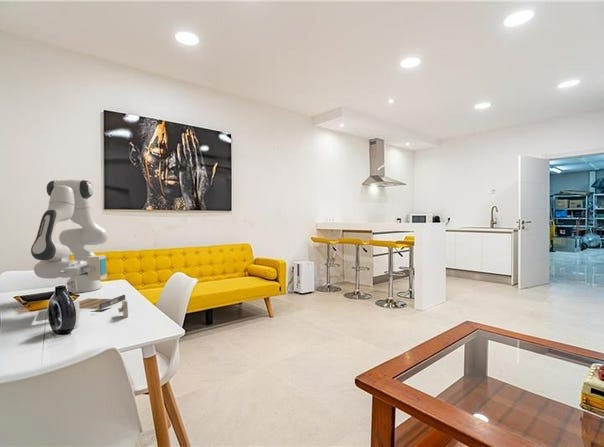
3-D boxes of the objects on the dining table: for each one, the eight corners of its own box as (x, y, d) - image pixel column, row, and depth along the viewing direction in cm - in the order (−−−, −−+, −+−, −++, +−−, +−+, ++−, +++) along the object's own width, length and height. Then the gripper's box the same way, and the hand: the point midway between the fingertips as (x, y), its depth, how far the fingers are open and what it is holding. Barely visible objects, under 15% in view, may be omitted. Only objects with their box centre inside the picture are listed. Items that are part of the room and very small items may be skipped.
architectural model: (119, 319, 142) (118, 303, 142) (118, 315, 148) (117, 300, 148) (128, 318, 144) (127, 302, 144) (126, 314, 150) (125, 298, 150)
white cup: (85, 324, 136) (83, 301, 136) (70, 331, 128) (68, 307, 128) (68, 324, 137) (67, 301, 137) (52, 331, 129) (50, 307, 129)
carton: (88, 280, 159) (86, 257, 158) (95, 278, 165) (93, 255, 164) (101, 280, 159) (99, 256, 159) (107, 277, 165) (106, 255, 165)
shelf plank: (61, 310, 157) (60, 302, 157) (88, 301, 173) (88, 293, 172) (102, 312, 153) (101, 303, 153) (125, 302, 168) (125, 294, 168)
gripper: (55, 266, 150) (85, 265, 151) (82, 259, 171) (109, 258, 172) (56, 279, 151) (86, 278, 151) (83, 271, 171) (109, 270, 172)
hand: (98, 267), depth 162 cm, fingers closed on carton, 6 cm apart
